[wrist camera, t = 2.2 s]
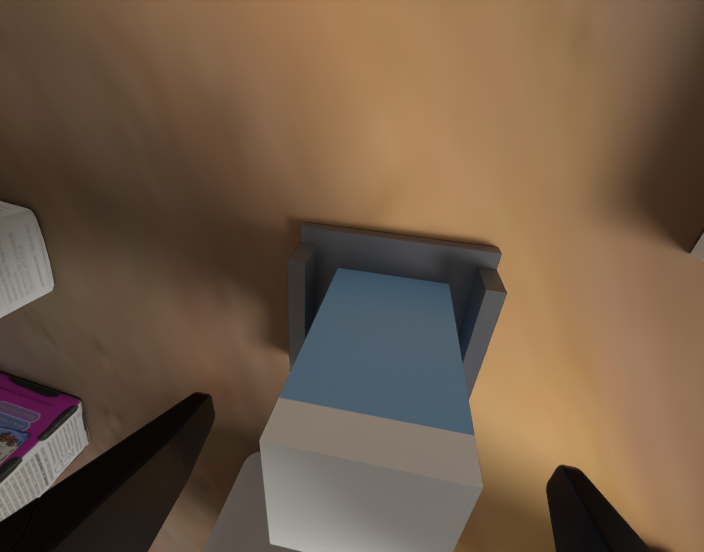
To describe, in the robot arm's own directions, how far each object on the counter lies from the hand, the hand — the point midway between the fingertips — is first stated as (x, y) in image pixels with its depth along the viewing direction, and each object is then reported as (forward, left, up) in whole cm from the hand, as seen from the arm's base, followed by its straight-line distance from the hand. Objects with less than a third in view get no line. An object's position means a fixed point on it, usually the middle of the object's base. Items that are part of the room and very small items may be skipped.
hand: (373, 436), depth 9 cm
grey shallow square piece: (0, 0, -6) cm, 6 cm away
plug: (0, 0, -5) cm, 5 cm away
